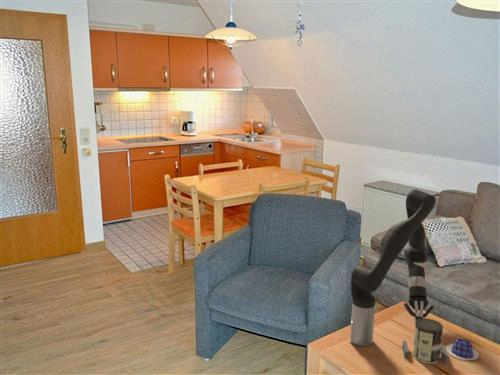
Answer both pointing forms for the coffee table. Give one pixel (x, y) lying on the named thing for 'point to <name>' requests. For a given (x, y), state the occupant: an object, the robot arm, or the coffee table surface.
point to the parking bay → (442, 352)
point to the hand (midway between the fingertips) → (419, 326)
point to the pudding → (462, 349)
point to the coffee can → (427, 340)
